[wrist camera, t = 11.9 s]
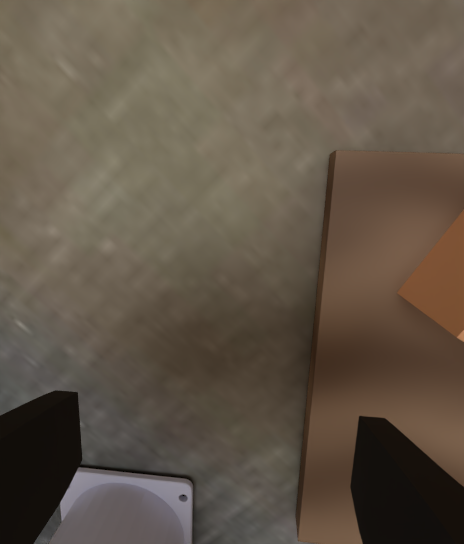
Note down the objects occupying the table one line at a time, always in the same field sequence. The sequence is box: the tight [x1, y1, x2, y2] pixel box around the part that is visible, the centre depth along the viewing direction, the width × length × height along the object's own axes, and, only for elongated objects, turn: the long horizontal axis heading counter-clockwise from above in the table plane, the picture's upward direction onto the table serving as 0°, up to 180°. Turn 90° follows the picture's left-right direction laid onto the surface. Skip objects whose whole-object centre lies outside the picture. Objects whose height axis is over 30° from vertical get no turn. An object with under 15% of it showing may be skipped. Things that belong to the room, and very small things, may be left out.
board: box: [296, 150, 464, 544], centre depth 17 cm, size 20×14×2 cm
